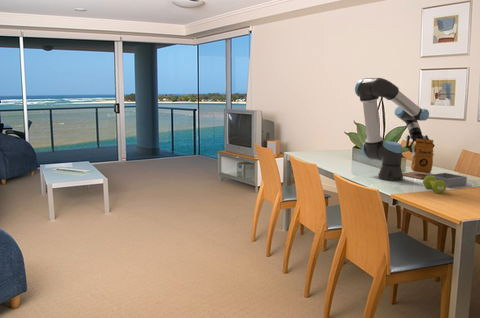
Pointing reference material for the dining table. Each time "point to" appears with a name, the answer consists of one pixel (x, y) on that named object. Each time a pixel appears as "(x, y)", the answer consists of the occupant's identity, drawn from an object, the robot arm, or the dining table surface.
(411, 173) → the board
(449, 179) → the tray
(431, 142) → the coffee package
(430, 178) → the dumbbell
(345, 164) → the dining table surface
